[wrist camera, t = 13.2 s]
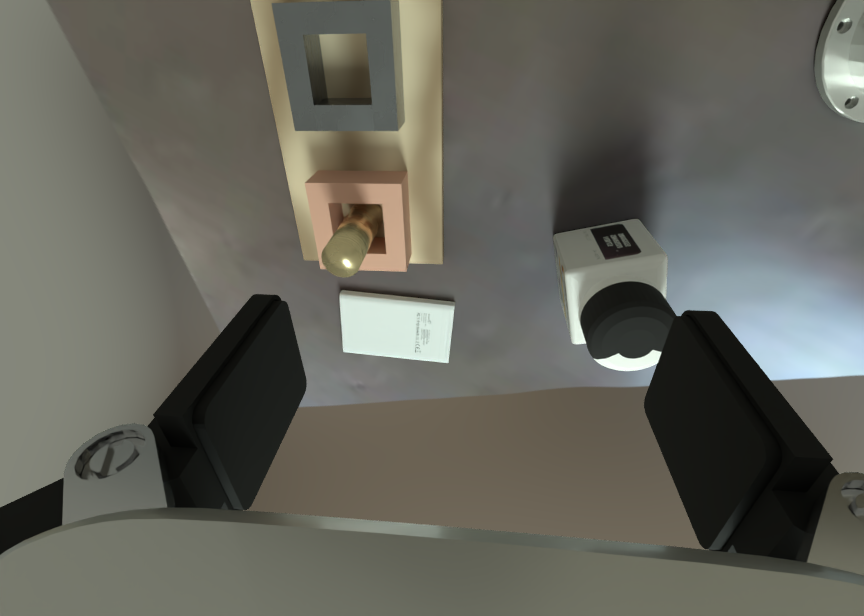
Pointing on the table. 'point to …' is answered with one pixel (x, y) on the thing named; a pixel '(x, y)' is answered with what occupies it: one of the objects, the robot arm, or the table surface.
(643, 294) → the container
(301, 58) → the mount collar
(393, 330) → the external hard drive
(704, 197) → the table surface
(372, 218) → the brass pin
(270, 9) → the oak board
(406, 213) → the socket collar
